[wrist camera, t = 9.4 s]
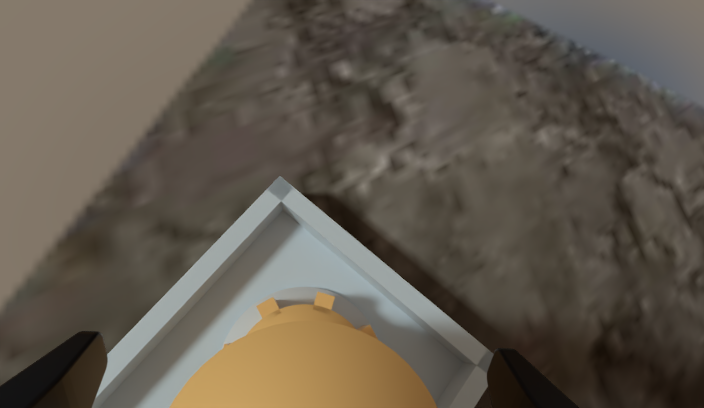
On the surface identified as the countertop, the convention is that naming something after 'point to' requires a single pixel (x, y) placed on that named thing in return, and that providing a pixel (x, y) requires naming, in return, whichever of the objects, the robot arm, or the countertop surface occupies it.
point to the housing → (287, 289)
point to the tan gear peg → (305, 366)
